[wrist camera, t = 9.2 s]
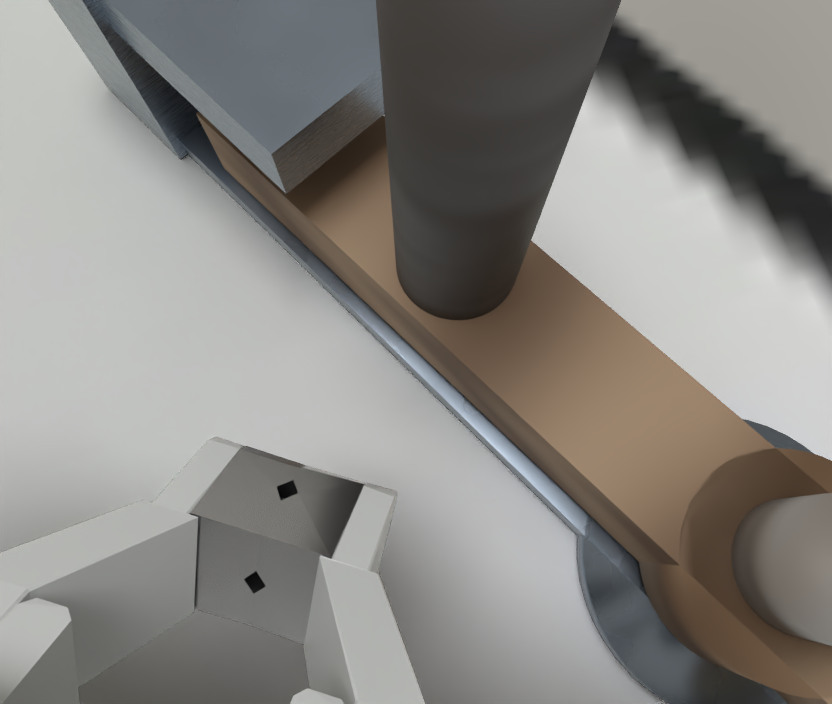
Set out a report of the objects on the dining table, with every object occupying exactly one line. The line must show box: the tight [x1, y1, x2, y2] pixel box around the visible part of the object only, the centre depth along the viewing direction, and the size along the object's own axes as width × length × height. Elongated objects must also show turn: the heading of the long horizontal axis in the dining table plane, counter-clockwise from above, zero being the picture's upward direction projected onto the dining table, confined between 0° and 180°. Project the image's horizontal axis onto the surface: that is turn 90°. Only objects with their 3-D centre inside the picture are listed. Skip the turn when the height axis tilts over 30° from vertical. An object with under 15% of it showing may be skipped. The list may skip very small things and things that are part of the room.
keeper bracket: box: [49, 0, 814, 704], centre depth 15 cm, size 28×8×6 cm, turn 45°
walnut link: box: [196, 0, 832, 704], centre depth 11 cm, size 21×5×12 cm, turn 45°
